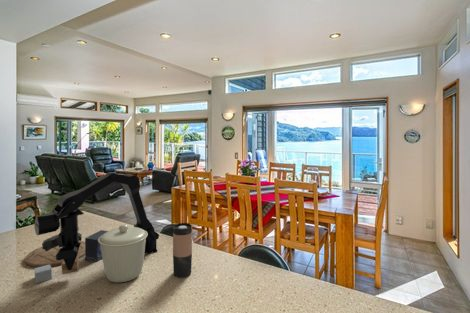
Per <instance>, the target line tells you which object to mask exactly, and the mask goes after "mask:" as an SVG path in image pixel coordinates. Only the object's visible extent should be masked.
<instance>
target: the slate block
mask: <svg viewBox="0 0 470 313" xmlns="http://www.w3.org/2000/svg"><path fill="white" fill-rule="evenodd" d="M33 269H34V282H35V284H38V283H42V282H46V281H50V280H52V278H53V276H52V275H53V274H52V273H53V272H52V267H51V266H50V265H46V266H42V267H38V268H35V267H33Z"/></svg>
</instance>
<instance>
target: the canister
mask: <svg viewBox="0 0 470 313" xmlns="http://www.w3.org/2000/svg"><path fill="white" fill-rule="evenodd" d="M107 231H108V232H106V233H105V234H103V235H102V236H100V237H99V239H98V242H99V243H100V245H101V252H102V259H101V260H102V265H103V270H104V274H105V277H106V278H107V280H108V281H109V282H112V283H118V284H119V283H126V282H129V281H130V282H131V281H132V280H135V279H136V278H137V277H139V276H140V275H141V272H142V271H143V266H144V260H145V254H144V252H145V243H146V237H147V236H148V233H147V231H145V230H143V229H141V228H137V227H134V226H129V225H128V224H126V223H123V224H120V226H119V227H117V228H114V229H111V230H107Z"/></svg>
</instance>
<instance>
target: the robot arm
mask: <svg viewBox="0 0 470 313" xmlns="http://www.w3.org/2000/svg"><path fill="white" fill-rule="evenodd" d="M140 182H141V181H140V178H139V177H138V176H137V175H134V174H130V173H125V174H119V173H116V172H112V171H108V172H107V173H105V174H104V175H102V176H101V177H99V178H97V179H95V180H94V181H92V182H91V183H89V184H86V186H84V187H82V188H80V189H77V190H73V191H70V192H68V193H65V194H62V195H61V196H59V198H58V199H57V204H56V205H55V206H54V208H53V209H52V210H51V213H47V214H40V215H39V214H38V215H36V216H35V222H34V224H33V225H34V226H33V227H34V231H35V236H40V235H46V234H49V233H53V232H57V231H58V230H59V231H60V232H59V233H58V234H56V235H53V236H51V237H49V238H46V239H45V240H43V241H42V243H41V245H42V246H43V248H42V249H45V251H49V250H50V249H52V248H54V247H57V246H58V245H59V247H62V248H60V249H59V250H58V252H57V254H56V260H63V259H64V261H65V264H66V266H67V269H68V270H71V269H72V267H73V264H74V262H75V259H76V257H77V254H78V250H79V247H80V244H81V243H80V242H79V241H83V239H82V236H83V235H82V234H81V233H80V232H79V230H80V227H79V219H78V218H79V217H78V216H82V215H84V214H85V212H83V211H81V209H80V207H81V206H82V205H83V204H84V203H85V202H86V201H87V200H88V199H89V198H90V197H92V196H93V195H95V194H97V193H98V192H100V191H102V190H103V189H104V188H106V187H108V186H110V185H111V184H113V183H118V184H121V186H122V188H123V190H124V191H125V192H126V193H127V195H128V198H129V200H130V204H131V206H132V209H133V210H132V211H133V213H134V215H135V219H136V224H134V225H133V227H137V228H141V229H143V230H145V231H147V233H148V236H147V237H146V243H145V252H144V255H145V254H150V253H156V252H158V249H157V240H159V239H160V238H159V237H160V234H159V233H158V232H157V231H155V227H154V225H153V224H152V223H151V221H150V220H149V219H148V216H147V213H146V210H145V206H144V203H143V200H142V197H141V194H140V191H141V190H140V189H141V183H140ZM78 242H79V243H78ZM42 246H41V247H42Z"/></svg>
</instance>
